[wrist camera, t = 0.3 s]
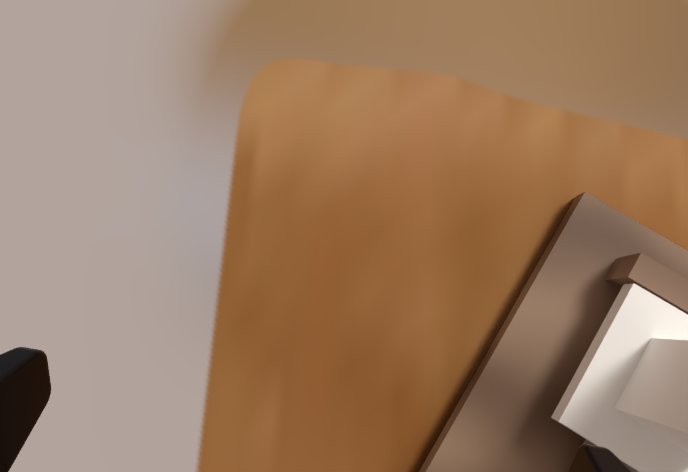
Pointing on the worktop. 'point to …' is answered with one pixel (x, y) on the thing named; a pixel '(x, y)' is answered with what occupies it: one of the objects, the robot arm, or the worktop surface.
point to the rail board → (554, 342)
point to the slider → (634, 384)
